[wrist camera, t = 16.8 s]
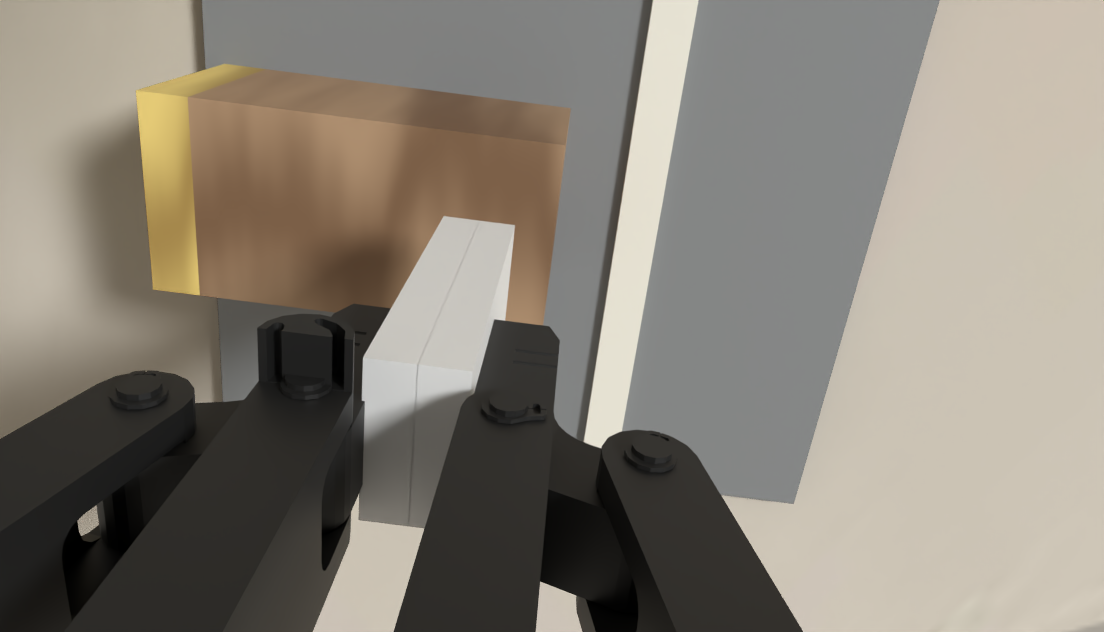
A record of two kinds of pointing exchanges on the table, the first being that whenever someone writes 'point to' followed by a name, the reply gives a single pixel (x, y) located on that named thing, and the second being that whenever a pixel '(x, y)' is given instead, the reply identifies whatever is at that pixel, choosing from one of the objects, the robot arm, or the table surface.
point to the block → (338, 185)
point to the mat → (655, 190)
